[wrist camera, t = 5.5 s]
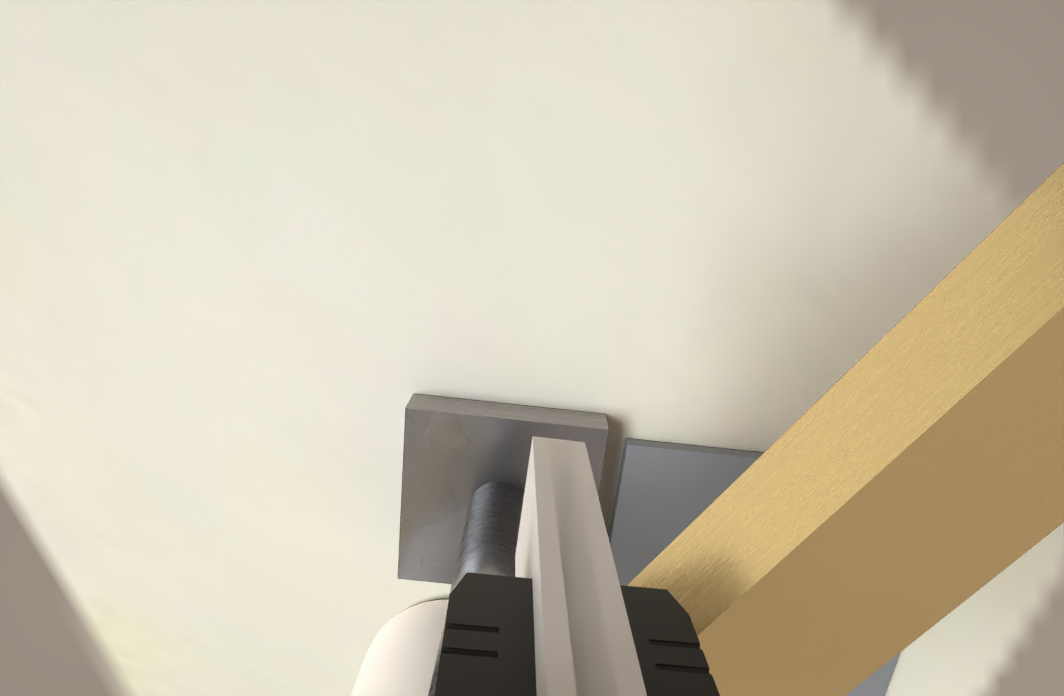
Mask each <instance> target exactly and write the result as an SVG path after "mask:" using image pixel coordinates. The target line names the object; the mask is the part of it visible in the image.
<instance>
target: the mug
mask: <svg viewBox="0 0 1064 696" xmlns="http://www.w3.org/2000/svg"><path fill="white" fill-rule="evenodd" d="M448 601H449V599H448V600H435V601H428V602H424V603H421V604H417V605H414V606H412V607H410V608H407V609H405V610H404V611H402V612H400V613H399V614H397V615H396V616H394V617H393V618H392V619H391V620H389V621H388V622H387V623H386V624H385V625H384V626H383V627H382V628H381V629H380V631H379V632H378V634H377V635H376V636H375V638H374V640H373V641H372V643H371V645H370V647H369V649H368V652H367V654H366V656H365V658H364V661H363V664H362V666H361V669H360V672H359V675H358V677H357V680H356V683H355V686H354V689H353V691H352V694H351V696H428V694H429V689H430V685H431V680H432V675H433V671H434V666H435V661H436V657H437V652H438V647H439V643H440V638H441V633H442V629H443V624H444V619H445V615H446V610H447V605H448Z"/></svg>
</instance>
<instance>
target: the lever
mask: <svg viewBox="0 0 1064 696" xmlns="http://www.w3.org/2000/svg"><path fill="white" fill-rule="evenodd" d="M1063 522H1064V163H1063V164H1062V165H1061V166H1060V167H1059V168H1058V169H1057V170H1056V171H1055V172H1054V173H1053V174H1052V175H1051V176H1050V177H1049V178H1048V179H1047V180H1046V181H1045V182H1044V183H1042V184H1041V185H1040V186H1039V187H1038V188H1037V189H1036V190H1035V191H1034V192H1033V193H1032V194H1031V195H1030V196H1029V197H1028V198H1027V199H1026V200H1025V201H1024V202H1023V203H1022V204H1021V205H1020V206H1019V207H1018V208H1017V209H1016V210H1015V211H1013V212H1012V213H1011V214H1010V215H1009V216H1008V217H1007V218H1006V219H1005V220H1004V221H1003V222H1002V223H1001V224H1000V225H999V226H998V227H997V228H996V229H995V230H994V231H993V232H992V233H991V234H990V235H989V236H988V237H987V238H986V239H985V240H984V241H982V242H981V243H980V244H979V245H978V246H977V247H976V248H975V249H974V250H973V251H972V252H971V253H970V254H969V255H968V256H967V257H966V258H965V259H964V260H963V261H962V262H961V263H960V264H959V265H958V266H957V267H956V268H955V269H954V270H953V271H952V272H950V273H949V274H948V275H947V276H946V277H945V278H944V279H943V280H942V281H941V282H940V283H939V284H938V285H937V286H936V287H935V288H934V289H933V290H932V291H931V292H930V293H929V294H928V295H927V296H926V297H925V298H924V299H923V300H922V301H921V302H919V303H918V304H917V305H916V306H915V307H914V308H913V309H912V310H911V311H910V312H909V313H908V314H907V315H906V316H905V317H904V318H903V319H902V320H901V321H900V322H899V323H898V324H897V325H896V326H895V327H894V328H893V329H892V330H891V331H890V332H888V333H887V334H886V335H885V336H884V337H883V338H882V339H881V340H880V341H879V342H878V343H877V344H876V345H875V346H874V347H873V348H872V349H871V350H870V351H869V352H868V353H867V354H866V355H865V356H864V357H863V358H862V359H861V360H860V361H859V362H858V363H856V364H855V365H854V366H853V367H852V368H851V369H850V370H849V371H848V372H847V373H846V374H845V375H844V376H843V377H842V378H841V379H840V380H839V381H838V382H837V383H836V384H835V385H834V386H833V387H832V388H831V389H830V390H829V391H828V392H827V393H825V394H824V395H823V396H822V397H821V398H820V399H819V400H818V401H817V402H816V403H815V404H814V405H813V406H812V407H811V408H810V409H809V410H808V411H807V412H806V413H805V414H804V415H803V416H802V417H801V418H800V419H799V420H798V421H797V422H796V423H795V424H793V425H792V426H791V427H790V428H789V429H788V430H787V431H786V432H785V433H784V434H783V435H782V436H781V437H780V438H779V439H778V440H777V441H776V442H775V443H774V444H773V445H772V446H771V447H770V448H769V449H768V450H767V451H766V452H765V453H764V454H762V455H761V456H760V457H759V458H758V459H757V460H756V461H755V462H754V463H753V464H752V465H751V466H750V467H749V468H748V469H747V470H746V471H745V472H744V473H743V474H742V475H741V476H740V477H739V478H738V479H737V480H736V481H735V482H734V483H733V484H732V485H730V486H729V487H728V488H727V489H726V490H725V491H724V492H723V493H722V494H721V495H720V496H719V497H718V498H717V499H716V500H715V501H714V502H713V503H712V504H711V505H710V506H709V507H708V508H707V509H706V510H705V511H704V512H703V513H702V514H701V515H699V516H698V517H697V518H696V519H695V520H694V521H693V522H692V523H691V524H690V525H689V526H688V527H687V528H686V529H685V530H684V531H683V532H682V533H681V534H680V535H679V536H678V537H677V538H676V539H675V540H674V541H673V542H672V543H671V544H670V545H668V546H667V547H666V548H665V549H664V550H663V551H662V552H661V553H660V554H659V555H658V556H657V557H656V558H655V559H654V560H653V561H652V562H651V563H650V564H649V565H648V566H647V567H646V568H645V569H644V570H643V571H642V572H641V573H640V574H639V575H638V576H636V577H635V578H634V579H633V580H632V581H631V582H630V583H629V584H628V585H627V586H635V587H646V588H656V589H667V590H668V591H669V592H670V594H671V595H672V596H673V597H674V598H675V599H676V600H677V601H678V603H679V604H680V605H681V606H682V607H683V608H684V609H685V611H686V612H687V613H688V614H689V615H690V618H691V621H692V623H693V626H694V629H695V631H696V634H697V636H698V639H699V642H700V649H702V650H703V652H704V655H705V658H706V660H707V663H708V665H709V673H710V674H712V676H713V679H714V681H715V684H716V687H717V689H718V692H719V694H720V696H845V695H847V694H848V693H849V692H850V691H852V690H853V689H854V688H855V687H857V686H858V685H859V684H861V683H862V682H863V681H864V680H866V679H867V678H868V677H869V676H871V675H872V674H873V673H874V672H876V671H877V670H878V669H879V668H881V667H882V666H883V665H884V664H886V663H887V662H888V661H889V660H891V659H892V658H893V657H895V656H896V655H897V654H898V653H900V652H901V651H902V650H903V649H905V648H906V647H907V646H908V645H910V644H911V643H912V642H913V641H915V640H916V639H917V638H918V637H920V636H921V635H922V634H924V633H925V632H926V631H927V630H929V629H930V628H931V627H932V626H934V625H935V624H936V623H937V622H939V621H940V620H941V619H942V618H944V617H945V616H946V615H947V614H949V613H950V612H951V611H952V610H954V609H955V608H956V607H958V606H959V605H960V604H961V603H963V602H964V601H965V600H966V599H968V598H969V597H970V596H971V595H973V594H974V593H975V592H976V591H978V590H979V589H980V588H981V587H983V586H984V585H985V584H987V583H988V582H989V581H990V580H992V579H993V578H994V577H995V576H997V575H998V574H999V573H1000V572H1002V571H1003V570H1004V569H1005V568H1007V567H1008V566H1009V565H1010V564H1012V563H1013V562H1014V561H1016V560H1017V559H1018V558H1019V557H1021V556H1022V555H1023V554H1024V553H1026V552H1027V551H1028V550H1029V549H1031V548H1032V547H1033V546H1034V545H1036V544H1037V543H1038V542H1039V541H1041V540H1042V539H1043V538H1044V537H1046V536H1047V535H1048V534H1050V533H1051V532H1052V531H1053V530H1055V529H1056V528H1057V527H1058V526H1060V525H1061V524H1062V523H1063Z"/></svg>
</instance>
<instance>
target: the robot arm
mask: <svg viewBox="0 0 1064 696" xmlns="http://www.w3.org/2000/svg"><path fill="white" fill-rule="evenodd" d="M434 696H720V694H719V692H718V689H717V687H716V684H715V681H714V679H713V676H712V674H710V673H709V665H708V663H707V660H706V658H705V655H704V652H703V650H702V649H700V642H699V639H698V636H697V634H696V631H695V629H694V626H693V623H692V621H691V618H690V615H689V614H688V613H687V612H686V611H685V609H684V608H683V607H682V606H681V605H680V604H679V603H678V601H677V600H676V599H675V598H674V597H673V596H672V595H671V594H670V592H669V591H668V590H667V589H656V588H646V587H635V586H624V585H620V583H619V579H618V575H617V571H616V567H615V563H614V559H613V555H612V551H611V547H610V542H609V538H608V534H607V530H606V526H605V522H604V518H603V514H602V510H601V506H600V502H599V497H598V493H597V489H596V485H595V481H594V477H593V473H592V469H591V465H590V461H589V457H588V453H587V448H586V444H585V442H578V441H570V440H561V439H552V438H543V437H534V436H533V437H532V444H531V451H530V458H529V464H528V471H527V478H526V485H525V492H524V498H523V505H522V512H521V519H520V526H519V533H518V539H517V546H516V553H515V577H511V576H500V575H490V574H480V573H469V572H467V573H466V574H465V575H464V577H463V578H462V579H461V581H460V582H459V583H458V584H457V586H456V587H455V588H454V589H453V591H452V592H451V593H450V595H449V602H448V608H447V615H446V621H445V628H444V635H443V641H442V648H441V654H440V661H439V668H438V674H437V681H436V687H435V694H434Z"/></svg>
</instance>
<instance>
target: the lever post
mask: <svg viewBox="0 0 1064 696" xmlns="http://www.w3.org/2000/svg"><path fill="white" fill-rule="evenodd" d="M608 432H609V428H608V423H607V419H606V415H605V414H600V413H591V412H581V411H572V410H562V409H553V408H543V407H534V406H525V405H515V404H506V403H496V402H487V401H477V400H468V399H458V398H449V397H439V396H430V395H420V394H413V395H412V397H411V399H410V401H409V403H408V404H407V406H406V408H405V429H404V451H403V473H402V494H401V516H400V538H399V560H398V579H407V580H417V581H427V582H436V583H446V584H452V587H451V591H450V593H451V592H452V591H453V589H454V588H455V587H456V586H457V584H458V583H459V582H460V581H461V579H462V578H463V577H464V575H465V574H466V573H467V572H469V573H480V574H490V575H500V576H511V577H515V553H516V546H517V539H518V533H519V526H520V519H521V512H522V505H523V498H524V492H525V485H526V478H527V471H528V464H529V458H530V451H531V444H532V437H533V436H534V437H543V438H552V439H561V440H570V441H578V442H585V444H586V448H587V453H588V457H589V461H590V465H591V469H592V473H593V477H594V481H595V485H596V489H597V493H598V495H599V489H600V483H601V477H602V470H603V464H604V458H605V451H606V445H607V439H608ZM448 602H449V601H448ZM447 608H448V605H447ZM446 615H447V610H446ZM446 615H445V619H444V624H443V629H442V633H441V638H440V643H439V647H438V652H437V657H436V661H435V666H434V671H433V675H432V680H431V685H430V689H429V694H428V696H434V694H435V687H436V681H437V674H438V668H439V661H440V654H441V648H442V641H443V635H444V628H445V621H446Z"/></svg>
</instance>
